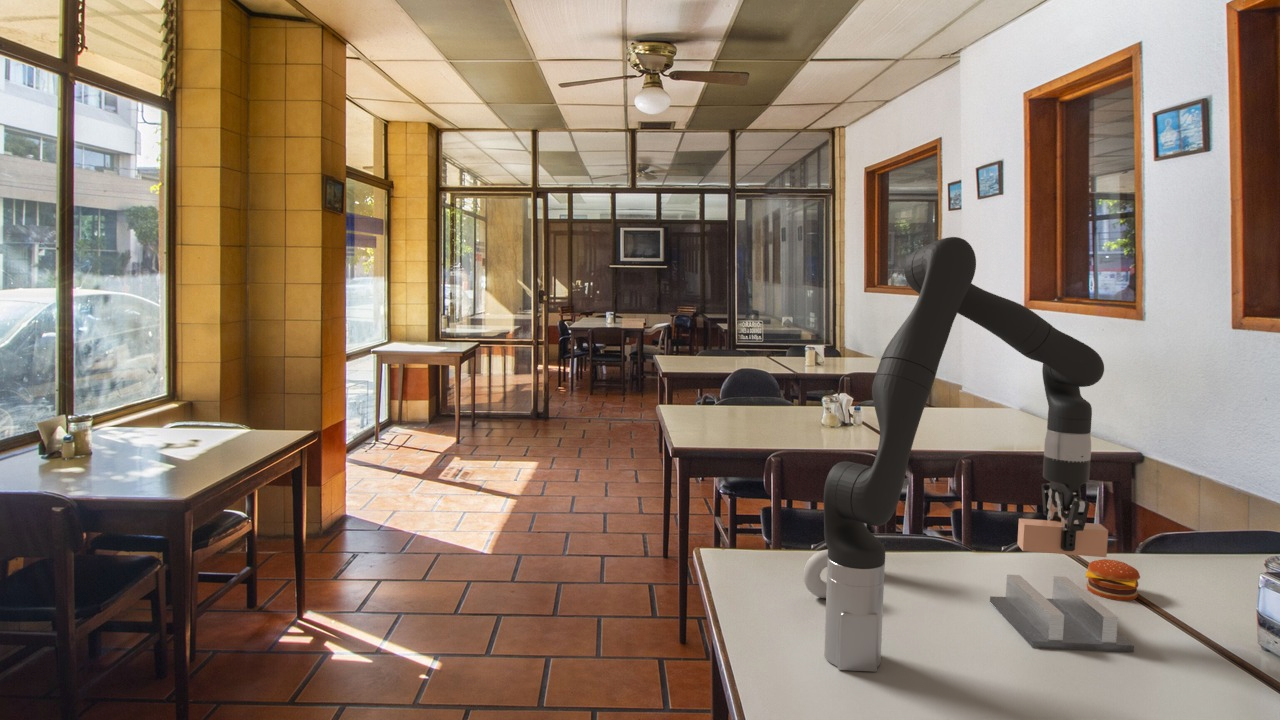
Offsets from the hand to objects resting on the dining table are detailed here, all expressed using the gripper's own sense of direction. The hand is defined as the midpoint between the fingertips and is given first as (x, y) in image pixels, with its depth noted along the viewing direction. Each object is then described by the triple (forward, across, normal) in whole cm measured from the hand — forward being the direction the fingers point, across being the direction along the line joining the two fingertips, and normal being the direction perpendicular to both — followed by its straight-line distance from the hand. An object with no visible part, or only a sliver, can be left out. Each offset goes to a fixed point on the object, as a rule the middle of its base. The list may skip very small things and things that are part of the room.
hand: (1061, 545), depth 145 cm
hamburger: (+16, +18, -19) cm, 30 cm away
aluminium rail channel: (+15, 0, 0) cm, 15 cm away
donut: (+15, +9, +41) cm, 45 cm away
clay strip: (+1, 0, 0) cm, 1 cm away
